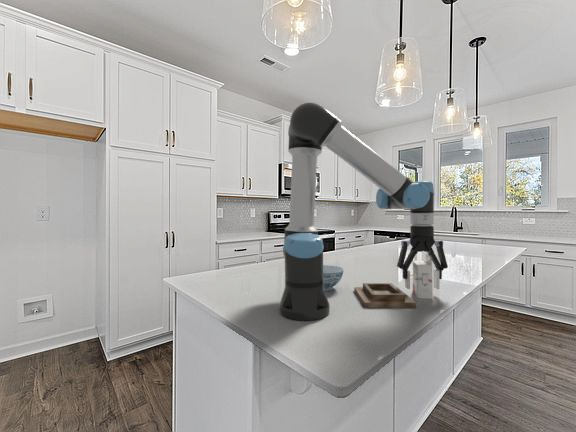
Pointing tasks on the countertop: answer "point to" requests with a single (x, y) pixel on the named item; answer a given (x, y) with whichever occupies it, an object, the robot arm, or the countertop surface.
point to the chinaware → (331, 276)
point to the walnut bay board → (383, 296)
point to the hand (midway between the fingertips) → (422, 288)
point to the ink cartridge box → (423, 278)
